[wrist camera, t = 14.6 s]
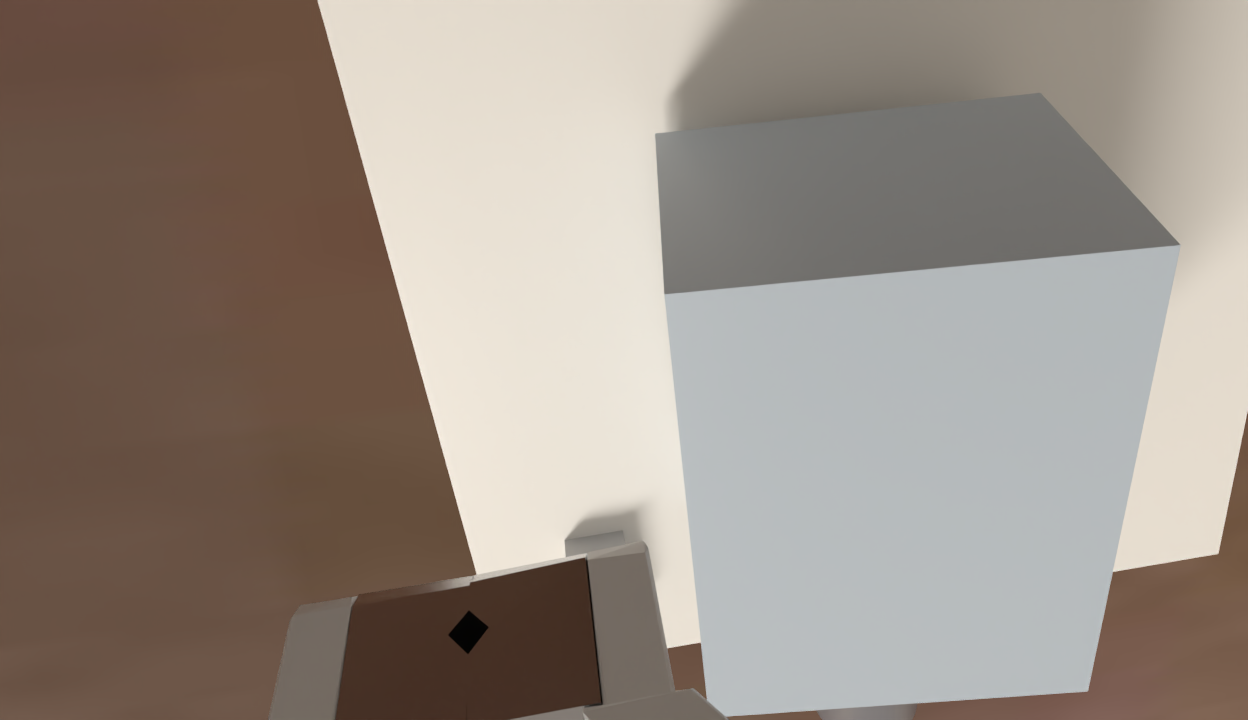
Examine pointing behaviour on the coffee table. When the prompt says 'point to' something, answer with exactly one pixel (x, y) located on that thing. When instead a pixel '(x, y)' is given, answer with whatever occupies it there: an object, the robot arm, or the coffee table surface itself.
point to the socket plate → (631, 235)
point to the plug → (905, 399)
